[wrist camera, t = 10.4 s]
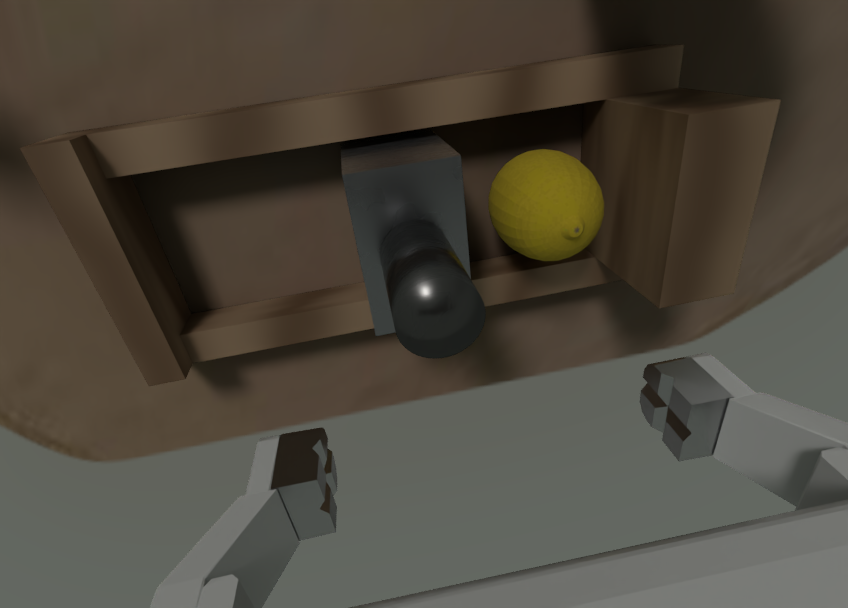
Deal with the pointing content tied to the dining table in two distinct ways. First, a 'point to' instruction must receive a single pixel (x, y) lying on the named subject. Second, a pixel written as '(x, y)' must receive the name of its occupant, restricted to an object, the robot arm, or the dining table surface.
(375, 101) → the frame
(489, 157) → the dining table surface
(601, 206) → the lemon
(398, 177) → the dark upright piece
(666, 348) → the dining table surface
